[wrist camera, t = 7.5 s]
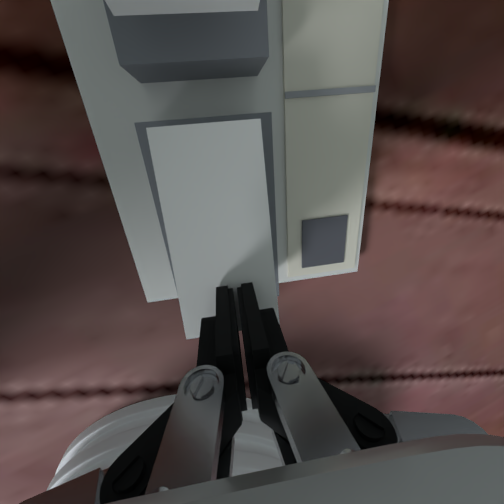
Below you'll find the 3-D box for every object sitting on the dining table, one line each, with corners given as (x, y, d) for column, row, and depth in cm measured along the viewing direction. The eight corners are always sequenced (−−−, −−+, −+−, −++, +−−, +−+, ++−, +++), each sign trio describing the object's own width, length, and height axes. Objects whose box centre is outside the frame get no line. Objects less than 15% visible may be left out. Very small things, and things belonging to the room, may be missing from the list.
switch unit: (347, 262, 20) (381, 292, 16) (152, 291, 19) (135, 331, 14) (395, -240, 10) (517, -500, 6) (-17, -267, 9) (-227, -641, 5)
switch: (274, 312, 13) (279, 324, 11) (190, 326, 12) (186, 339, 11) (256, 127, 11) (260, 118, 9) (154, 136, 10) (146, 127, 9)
